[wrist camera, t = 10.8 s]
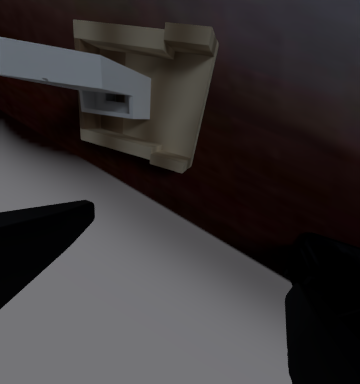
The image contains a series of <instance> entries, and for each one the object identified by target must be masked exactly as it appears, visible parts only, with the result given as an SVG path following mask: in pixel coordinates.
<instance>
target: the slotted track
mask: <svg viewBox="0 0 360 384" xmlns="http://www.w3.org/2000/svg"><path fill="white" fill-rule="evenodd" d="M73 27H74V42H75V51H81V52H86V53H92V54H97V55H101V56H103V57H106V58H108V59H110V60H112V61H114V62H116V63H119V64H121V65H123V66H125V67H127V68H130V69H132V70H134V71H136V72H138V73H140V74H143V75H145V76H147V77H149V78H151V96H150V119H129V118H122V117H115V116H108V115H101V114H94V113H87V112H82V111H81V103H80V94H79V90H78V102H79V117H80V132H81V140H84V141H87V142H91V143H94V144H97V145H101V146H104V147H108V148H111V149H114V150H118V151H121V152H125V153H128V154H131V155H135V156H138V157H142V158H145V159H149V160H150V164H152V165H155V166H159V167H162V168H165V169H169V170H172V171H175V172H179V173H183V172H184V171H185V170H187V169H188V168H190V167H191V166H192V161H193V157H194V152H195V148H196V143H197V139H198V135H199V130H200V126H201V121H202V117H203V112H204V108H205V104H206V99H207V95H208V90H209V86H210V82H211V77H212V73H213V68H214V64H215V59H216V55H217V51H218V46H219V44H218V41H217V40H216V37H215V34H214V31H213V28H212V27H208V26H198V25H188V24H178V23H167V22H165V29H156V28H147V27H138V26H128V25H119V24H110V23H101V22H91V21H82V20H73ZM116 102H123V103H125V95H121V94H116Z"/></svg>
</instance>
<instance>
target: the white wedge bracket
mask: <svg viewBox="0 0 360 384" xmlns="http://www.w3.org/2000/svg"><path fill="white" fill-rule="evenodd" d="M0 76H5V77H11V78H16V79H21V80H27V81H32V82H38V83H43V84H48V85H54V86H59V87H65V88H70V89H75V90H79V94H80V103H81V111H82V112H87V113H94V114H101V115H108V116H115V117H122V118H129V119H150V96H151V78H149V77H147V76H145V75H143V74H140V73H138V72H136V71H134V70H132V69H130V68H127V67H125V66H123V65H121V64H119V63H116V62H114V61H112V60H110V59H108V58H106V57H103V56H101V55H97V54H92V53H86V52H81V51H75V50H70V49H64V48H58V47H53V46H47V45H42V44H36V43H31V42H25V41H20V40H14V39H9V38H3V37H0ZM116 94H121V95H125V103H123V102H116Z"/></svg>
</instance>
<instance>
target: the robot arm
mask: <svg viewBox="0 0 360 384" xmlns="http://www.w3.org/2000/svg"><path fill="white" fill-rule="evenodd" d="M94 218H95V213H94V204H93V203H92V202H90V201H87V200H81V201H74V202H68V203H61V204H54V205H47V206H41V207H34V208H27V209H20V210H14V211H7V212H0V309H1V308H2V307H3V306H4V305H5V304H7V303H8V302H9V301H10V300H11V299H12V298H13V297H14V296H15V295H16V294H18V293H19V292H20V291H21V290H22V289H23V288H24V287H25V286H27V284H28V283H30V282H31V281H32V280H33V279H34V278H35V277H36V276H38V275H39V274H40V273H41V272H42V271H43V270H44V269H45V268H46V267H48V266H49V265H50V264H51V263H52V262H53V261H54V260H55V259H56V258H58V257H59V256H60V255H61V254H62V253H63V252H64V251H65V250H66V249H67V248H68V247H70V245H71V244H72V243H73V242H74V241H75V240H76V239H77V238H78V237H79V236H80V235H81V234H82V233H83V232H84V231H85V229H86V228H87V227H88V226H89V225H90V224H91V223H92V222H93V220H94ZM311 237H314V238H313V239H310V238H311ZM287 273H289V274H287ZM283 275H284V277H286V278H288V279H291V283H292V286H293V287H292V288H291V290H290V291H289V292H288V293H287V295H286V298H285V312H286V332H287V333H286V334H287V349H288V354H287V356H288V368H289V375H290V377H291V380H292V384H360V248H359V247H356V246H352V245H349V244H346V243H343V242H340V241H337V240H334V239H331V238H328V237H324V236H321V235H318V234H315V233H308V234H307V235H306V236H305V238H304V239H303V241H302V242H301V244H300V245H299V247H298V248H296V249H295V250H294V252H293V253H292V255H291V256H290V258H289V260H288V261H287V263H286V267H285V268H284V270H283Z"/></svg>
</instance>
